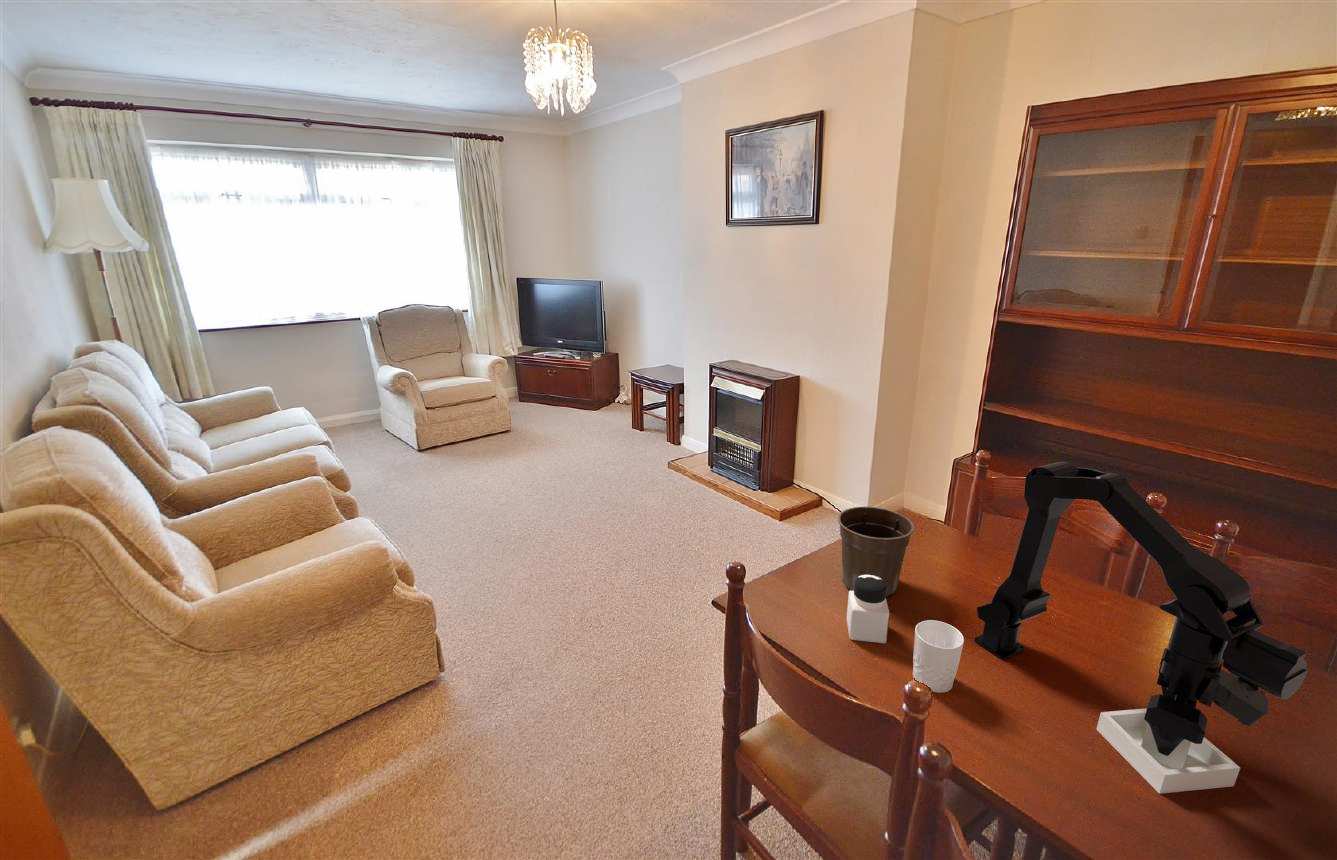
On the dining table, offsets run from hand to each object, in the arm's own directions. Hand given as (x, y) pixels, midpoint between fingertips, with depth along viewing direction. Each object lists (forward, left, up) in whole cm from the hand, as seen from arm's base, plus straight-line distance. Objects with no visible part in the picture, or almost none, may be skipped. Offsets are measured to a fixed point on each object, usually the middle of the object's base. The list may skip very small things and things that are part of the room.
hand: (1167, 735), depth 88 cm
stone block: (0, 0, -4) cm, 4 cm away
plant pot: (-6, +56, -4) cm, 57 cm away
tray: (0, 0, -4) cm, 4 cm away
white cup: (-18, +27, -4) cm, 33 cm away
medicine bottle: (-19, +43, -4) cm, 47 cm away
